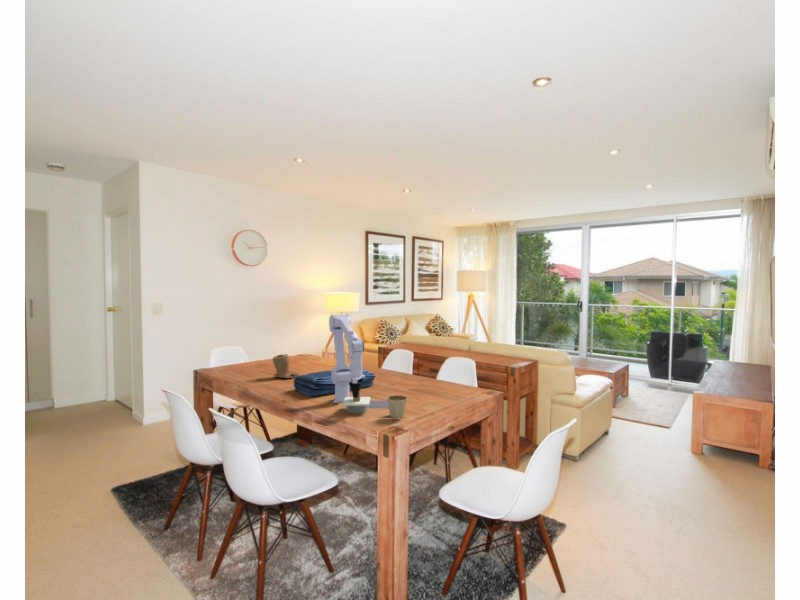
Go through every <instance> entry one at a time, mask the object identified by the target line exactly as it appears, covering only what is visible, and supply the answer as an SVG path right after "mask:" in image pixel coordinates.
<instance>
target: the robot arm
mask: <svg viewBox="0 0 800 600" xmlns="http://www.w3.org/2000/svg"><path fill="white" fill-rule="evenodd" d="M328 326H329V331H330V332H331V333H332V334H333V335H332V336H333V343H334V353H335V362H336V363H335V366H333V368H331V371H332V374H331V379H332V382H333V383H334V384H335V393H334V397H335V398H334V400H333V402H332V403H333V404H339V403H343V401H344V399H345V397H350V390H349V385H350V387H351V393H352V397H353V398H358V395H359V391H360V392H361V388H360V387H361V383H362V380H363V378H364V377H365V375H362V369H363V353H364V351H365V343H364V340H363V339H361V338H359V336H358V335H357V333H356V331H355V330H353V329H352V327H351V316H350V314H349V313H346V314H331V315H330V316H329V318H328ZM344 339H345V341H346V344H347V350H348V356H349V364H347V360H346V351H345V341H344ZM337 370H345V371H337ZM351 381H352V382H351Z"/></svg>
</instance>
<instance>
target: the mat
mask: <svg viewBox="0 0 800 600" xmlns="http://www.w3.org/2000/svg"><path fill="white" fill-rule="evenodd" d="M366 409H389V403H388V400H370V403H369V406H366Z"/></svg>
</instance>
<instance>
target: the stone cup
mask: <svg viewBox="0 0 800 600" xmlns="http://www.w3.org/2000/svg"><path fill="white" fill-rule="evenodd" d="M272 363H273V366H274V367H275V370H276V373H274V375H273V376H274V377H275V378H280V379H281V378H282V379H289V378H292V379H295V377H297V376H300V373H298V372H292V371H290V356H289V355H288V354H287V353H285V354H277V355H275V356H273V358H272Z"/></svg>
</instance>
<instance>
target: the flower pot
mask: <svg viewBox="0 0 800 600" xmlns="http://www.w3.org/2000/svg"><path fill="white" fill-rule="evenodd" d="M386 401H388V403H389V408H388V410H389V417H390V418H392V419H394V418H395V419H396V420H397V419H398V418H399V419H402V418H403V417H404V416H405V413H406V412H405V410H406V403H407V402H408V397H407V396H405V395H402V394H401V395H398V394H395V395H390V396H387V397H386ZM399 419H398V420H399Z"/></svg>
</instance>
